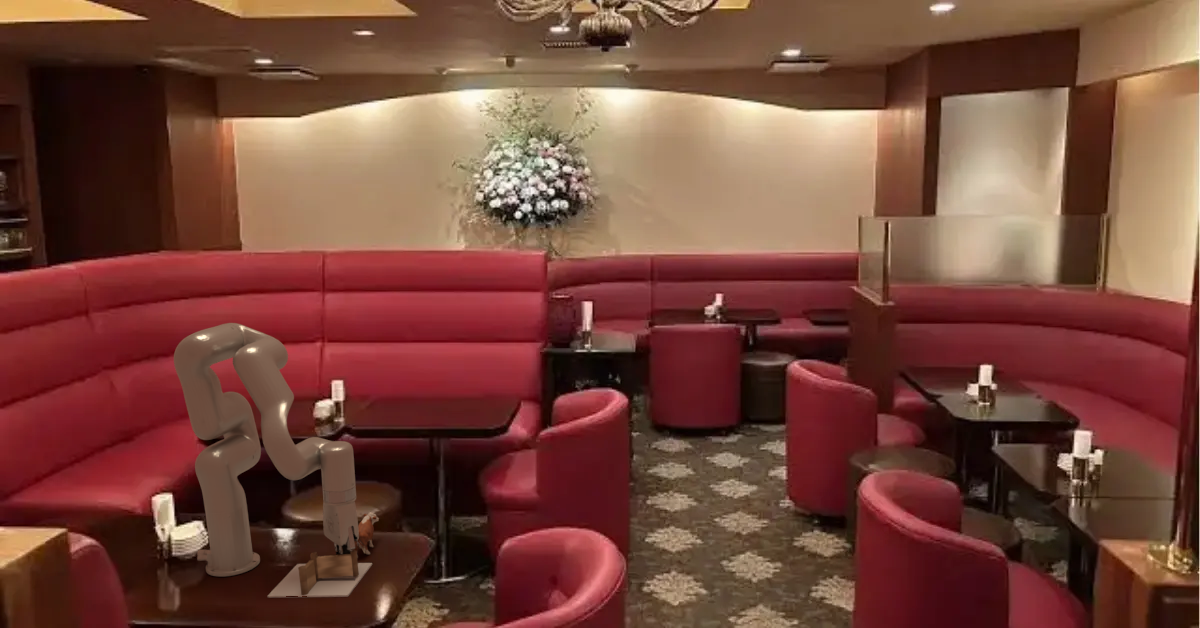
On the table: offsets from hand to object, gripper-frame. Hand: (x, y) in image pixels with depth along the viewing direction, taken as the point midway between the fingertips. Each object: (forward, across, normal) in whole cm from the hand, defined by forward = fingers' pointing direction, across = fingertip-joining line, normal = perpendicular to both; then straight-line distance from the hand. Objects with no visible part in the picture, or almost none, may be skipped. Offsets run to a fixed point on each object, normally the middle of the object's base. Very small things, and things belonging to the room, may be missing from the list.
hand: (344, 566), depth 227 cm
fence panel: (+1, +2, -3) cm, 4 cm away
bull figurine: (+2, -9, +10) cm, 14 cm away
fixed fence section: (+2, +2, -10) cm, 10 cm away
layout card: (+2, -1, -6) cm, 6 cm away
